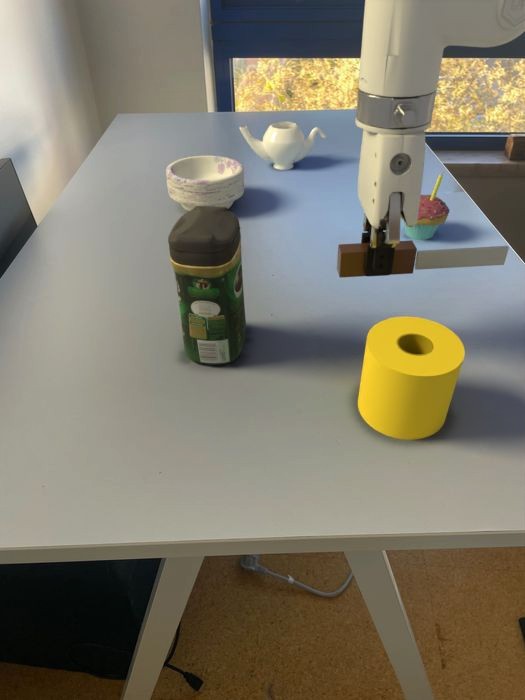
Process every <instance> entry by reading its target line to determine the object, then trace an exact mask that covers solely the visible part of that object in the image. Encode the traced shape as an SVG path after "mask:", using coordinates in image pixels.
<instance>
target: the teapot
mask: <svg viewBox="0 0 525 700" xmlns="http://www.w3.org/2000/svg"><path fill="white" fill-rule="evenodd" d="M239 131H240V133H241V134H242V136H243V138H244V140H245V142H247V144H248V146H249V147H250V148H251V150H252V151H253V152H254V153H255V155H257V156H258V157H259V158H261V159H262V160H264V161H266V162H272V163H273V168H274V169H275V170H281V171H286V170H287V171H288V170H291V169H293V168H294V164H295V163H298V162H300V161H301V160H303V159H304V158H306V157H307V156H308V155H309V153H310V152H311V151H312V149H313V148H314V145H315V143H316V139H317V134H318V135H319V136H320V137H321V138H322V139H327V138H328V136H327V135H326V134H325V133H324V132H323V130H322V129H320V127H317V126H316V127H313V128H312V130H311V131H310V133H309V135H308V136H307V137H306V138H305V135H304V133H303V131H302V130H301V127H300V126H299V125H298V124H297V123H295V122H293V121H277V122H273V123H271V124H270V125H269V126H268V127H267V129H266V131H265V133H264V134H263V136H262V140H260V139H258V138H255V137H254V136H253V135H251V132H250V131H249V127H248V126H247V125H240V126H239ZM274 163H275V164H274Z"/></svg>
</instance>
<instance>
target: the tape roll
mask: <svg viewBox="0 0 525 700" xmlns="http://www.w3.org/2000/svg"><path fill="white" fill-rule="evenodd" d="M465 356H466V351H465V346H464V344H463V342H462V340H461V339H460V337H459V336H458V335H457V334H456V333H455V332H454V331H452V330H451V329H450V328H448V327H447V326H445V325H443V324H441V323H439V322H436V321H434V320H431V319H427V318H423V317H417V316H395V317H390V318H389V317H388V318H386V319H383V320H381V321H378V322H376V324H374V325H373V326H372V327H371V328H370V329H369V331H368V333H367V335H366V341H365V350H364V355H363V363H362V368H361V369H362V370H361V376H360V384H359V390H358V398H357V407H358V408H357V409H358V412H359V414H360V415H361V417H362V419H363V420H364V421H365V422H366V424H368V425H369V426H370V427H372V429H374V430H375V431H376V432H379V433H381V434H383V435H384V436H386V437H390V438H394V439H398V440H404V441H405V440H406V441H409V440H410V441H413V440H421V439H425V438H428V437H430V436H433V435H434V434H436V433H437V432H439V431H440V429H441V428H442V427H443V426H444V424H445V422H446V419H447V415H448V412H449V409H450V405H451V401H452V398H453V396H454V392H455V388H456V385H457V382H458V379H459V375H460V372H461V369H462V366H463V365H462V364H463V361H464V359H465Z"/></svg>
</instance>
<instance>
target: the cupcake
mask: <svg viewBox="0 0 525 700" xmlns="http://www.w3.org/2000/svg"><path fill="white" fill-rule="evenodd" d="M444 173H445V170H443V171H442V172H441V173H440V174H439V175H438V177H437V179H436V182H435V184H434V188H433V191H432V192H431V194H421V197H420V205H419V213H418V219H417V223H416V225H415V226H414V227H409V226H407V225H406V223H405V221H404V220H403V218H402V216H401V219H400V220H403V223H404V228H405V229H404V230H405V235H406V236H407V237H408V238H410V239H413V240H416V241H425V240H426V241H427V240H430V239H432V238H433V237H434V235H435V233H436V231H437V230H438V228H439V226H440V225H442V224H444V223H445V222H446V221H447V218H448V216H449V214H450V211H451V209H450V208H449V206H448V205H447V203H446V202H445V201H443V199H441V198H440V197H439V196H437V193H438V191H439V188H440V185H441V183H442V181H443V177H444V176H443V174H444Z"/></svg>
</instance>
